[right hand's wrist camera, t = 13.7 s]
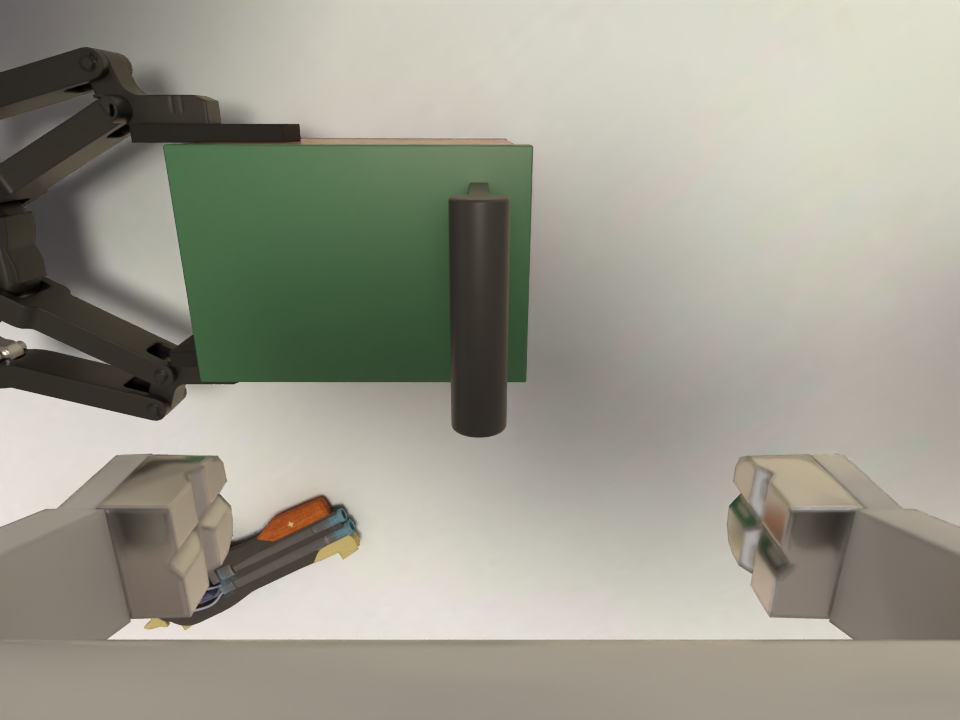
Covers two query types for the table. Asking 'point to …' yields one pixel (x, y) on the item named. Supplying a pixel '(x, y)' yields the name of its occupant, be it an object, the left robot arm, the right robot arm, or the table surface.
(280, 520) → the toy gun
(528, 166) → the lid
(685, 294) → the table surface
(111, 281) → the table surface
